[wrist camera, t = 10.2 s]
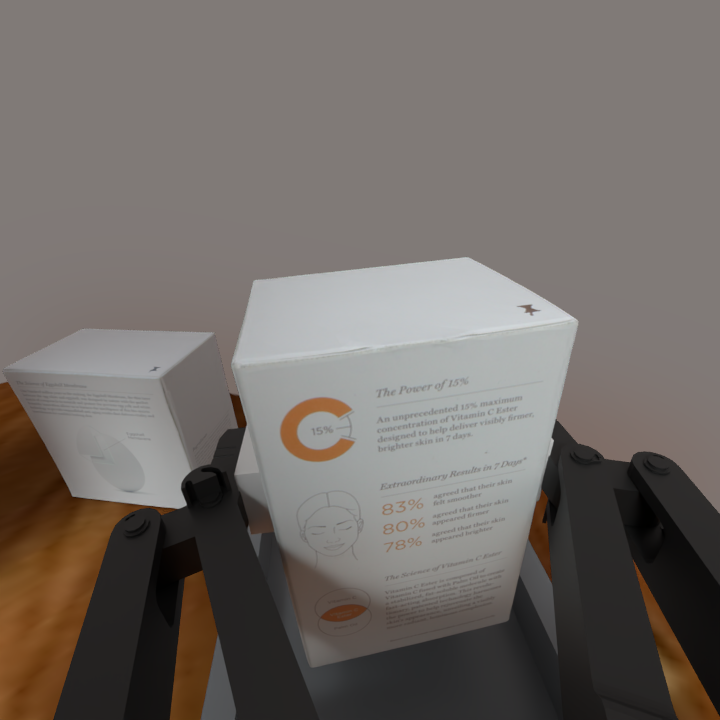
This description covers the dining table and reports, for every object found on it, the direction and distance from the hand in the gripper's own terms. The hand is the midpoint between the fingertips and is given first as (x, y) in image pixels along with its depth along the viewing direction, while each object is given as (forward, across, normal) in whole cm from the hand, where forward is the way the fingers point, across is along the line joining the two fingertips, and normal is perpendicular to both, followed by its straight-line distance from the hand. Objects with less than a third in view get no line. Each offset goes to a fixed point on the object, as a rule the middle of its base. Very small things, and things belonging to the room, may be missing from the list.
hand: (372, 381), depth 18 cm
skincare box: (+8, -15, -11) cm, 20 cm away
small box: (-5, 0, -7) cm, 9 cm away
